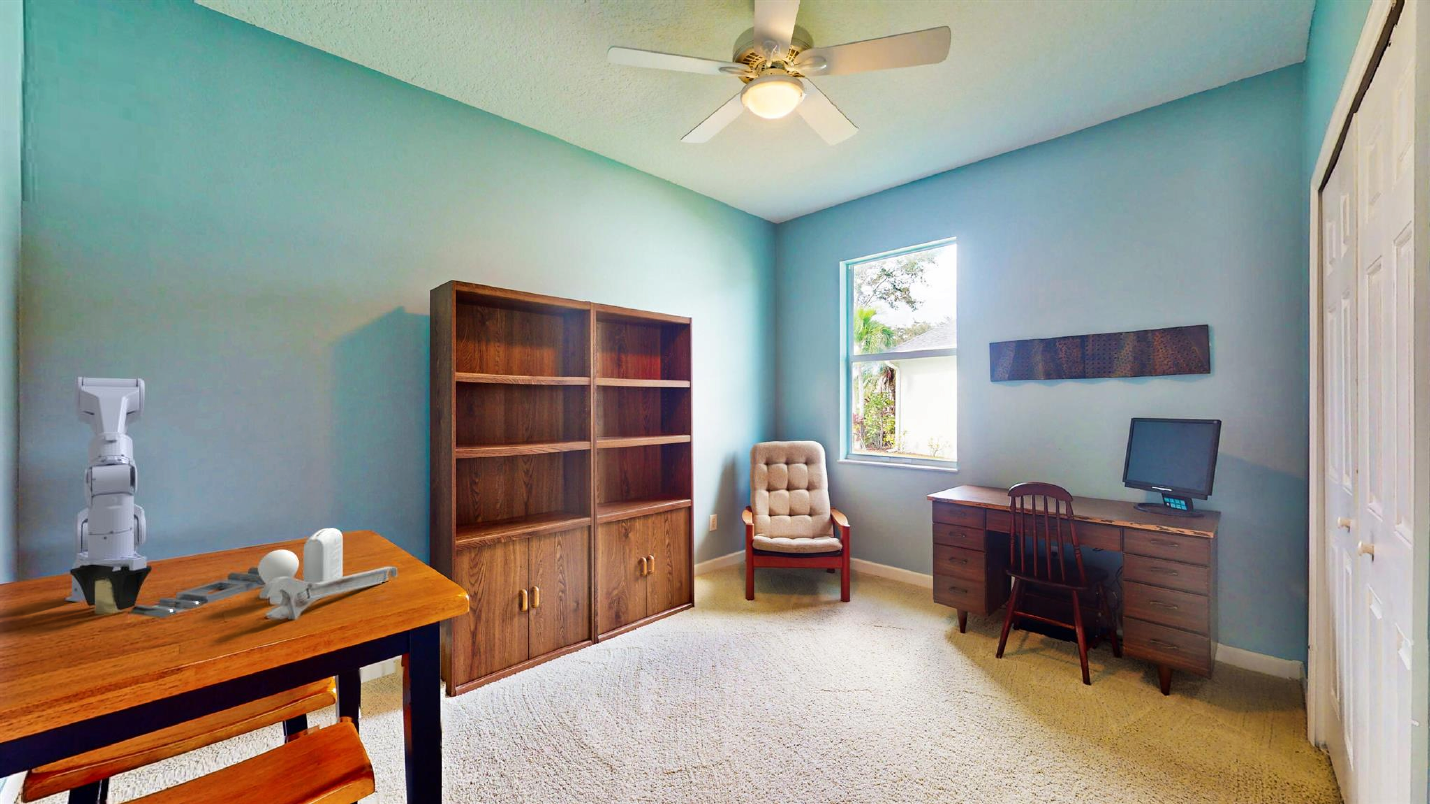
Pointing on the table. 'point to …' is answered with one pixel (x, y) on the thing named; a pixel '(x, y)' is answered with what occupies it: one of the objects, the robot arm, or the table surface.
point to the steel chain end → (167, 607)
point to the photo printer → (323, 556)
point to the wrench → (317, 590)
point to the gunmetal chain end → (224, 587)
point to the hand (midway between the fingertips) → (111, 606)
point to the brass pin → (104, 597)
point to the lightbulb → (278, 569)
